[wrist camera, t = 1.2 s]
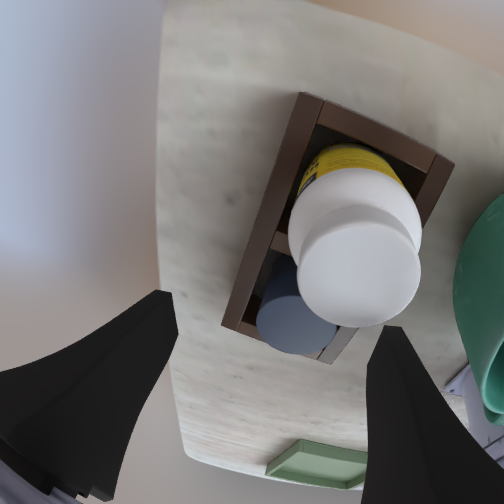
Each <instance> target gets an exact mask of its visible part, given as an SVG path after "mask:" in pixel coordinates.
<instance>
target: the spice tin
mask: <svg viewBox="0 0 504 504" xmlns="http://www.w3.org/2000/svg"><path fill="white" fill-rule="evenodd" d="M297 268H298V266H297V265H296V263H295V261H294V259H293V257H291V256H289V255H286V254H284V255H282V256H281V257H280V258H279V259H278V260H277V261H276V262H275V264H274V266H273V268H272V271H271V274H270V277H269V281H268V284H267V287H266V290H265V293H264V296H263V299H262V302H261V305H260V308H259V311H258V314H257V317H256V326H257V330H258V332H259V334H260V336H261V337H262V338H263V340H264V341H265V342H266V343H268V344H269V345H270V346H272V347H273V348H275V349H277V350H280V351H282V352H285V353H290V354H300V355H301V354H310V353H314V352H317V351H319V350H321V349H323V348H325V347H326V346H327V345H329V344H330V343H331V341H332V340H333V338H334V337H335V334H336V331H337V325H336V324H333V323H330V322H328V321H326V320H324V319H322V318H321V317H319V316H318V315H316V314H315V313H314V312H313V311H312V310H311V309H310V308H309V307H308V306H307V304H306V303H305V301H304V300H303V298H302V296H301V294H300V291H299V288H298V283H297Z"/></svg>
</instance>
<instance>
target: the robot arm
mask: <svg viewBox="0 0 504 504" xmlns="http://www.w3.org/2000/svg"><path fill="white" fill-rule="evenodd" d="M178 334H179V333H178V328H177V323H176V317H175V311H174V305H173V299H172V293H171V292H166V291H161V290H154V291H153V292H151V293H150V294H149V295H147V296H146V297H144V298H143V299H141V300H140V301H138V302H137V303H136V304H134V305H133V306H131V307H130V308H128V309H127V310H126V311H124V312H123V313H121V314H120V315H118V316H117V317H115V318H114V319H112V320H111V321H110V322H108V323H106V324H105V325H103V326H102V327H100V328H99V329H97V330H96V331H94V332H92V333H91V334H89V335H87V336H86V337H84V338H82V339H81V340H79V341H77V342H75V343H74V344H72V345H70V346H68V347H66V348H64V349H62V350H60V351H58V352H56V353H53V354H51V355H49V356H46V357H44V358H41V359H39V360H37V361H34V362H32V363H29V364H26V365H23V366H20V367H16V368H13V369H9V370H6V371H2V372H0V504H83V503H81V502H79V501H77V500H76V499H75V498H76V496H77V494H79V495H81V496H83V497H84V498H87V497H88V495H89V494H90V495H93V496H94V497H96V498H98V499H100V500H102V501H104V502H106V501H110V500H113V498H114V493H115V488H116V484H117V480H118V476H119V472H120V468H121V465H122V462H123V458H124V455H125V452H126V449H127V446H128V443H129V440H130V437H131V434H132V432H133V429H134V426H135V424H136V421H137V419H138V416H139V414H140V412H141V410H142V408H143V405H144V404H145V402H146V400H147V398H148V396H149V394H150V393H151V391H152V389H153V387H154V385H155V383H156V382H157V380H158V378H159V376H160V374H161V373H162V371H163V369H164V367H165V365H166V363H167V361H168V360H169V358H170V355H171V353H172V350H173V348H174V345H175V342H176V340H177V337H178ZM444 391H445V392H446V393H450V394H455V395H460V396H464V401H465V405H466V410H467V415H468V420H469V426H470V432H471V434H470V433H469V432H468V431H467V429H466V428H465V427H464V426H463V424H462V423H461V422H460V420H459V419H458V418H457V416H456V415H455V414H454V412H453V411H452V410H451V408H450V407H449V405H448V404H447V402H446V401H445V399H444V398H443V396H442V395H441V393H440V392H439V390H438V389H437V387H436V385H435V384H434V382H433V380H432V379H431V377H430V375H429V374H428V372H427V370H426V369H425V367H424V365H423V364H422V362H421V360H420V358H419V357H418V355H417V353H416V351H415V350H414V348H413V346H412V344H411V343H410V341H409V339H408V337H407V336H406V334H405V332H404V331H403V329H402V327H397V326H387V325H384V327H383V330H382V332H381V335H380V337H379V339H378V342H377V344H376V346H375V349H374V351H373V353H372V355H371V358H370V360H369V362H368V364H367V378H366V405H367V428H368V459H367V467H366V475H365V483H364V489H363V494H362V500H361V504H504V425H501V426H497V425H493V424H491V423H490V422H489V421H488V420H487V418H486V416H485V413H484V408H483V402H482V399H481V397H480V394H479V391H478V387H477V384H476V381H475V378H474V375H473V372H472V369H471V366H470V363H469V364H468V365H467V366H466V367H465V368H464V369H463V370H462V371H461V372H460V373H459V374H458V375H457V376H456V377H455V378H454V379H453V380H452V381H451V382H450V383H448V384H447V385H446V386H445V387H444Z"/></svg>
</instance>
